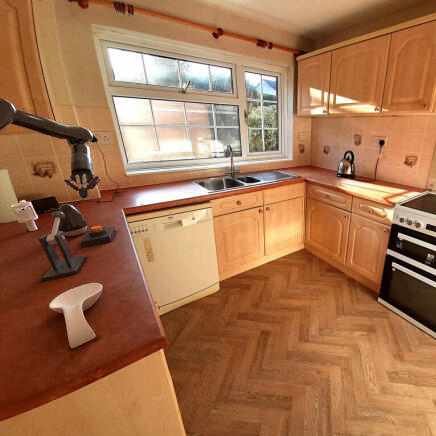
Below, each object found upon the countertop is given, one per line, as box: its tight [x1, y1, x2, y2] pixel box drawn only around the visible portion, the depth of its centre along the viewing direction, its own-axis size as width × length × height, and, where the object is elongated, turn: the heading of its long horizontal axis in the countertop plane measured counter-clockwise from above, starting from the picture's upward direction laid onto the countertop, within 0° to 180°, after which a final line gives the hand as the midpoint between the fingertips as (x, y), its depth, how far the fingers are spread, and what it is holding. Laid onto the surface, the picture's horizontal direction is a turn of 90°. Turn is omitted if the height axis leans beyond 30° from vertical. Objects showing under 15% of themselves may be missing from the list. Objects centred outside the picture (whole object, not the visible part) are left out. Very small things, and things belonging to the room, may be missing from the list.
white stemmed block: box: [10, 199, 39, 232], centre depth 121 cm, size 7×7×15 cm
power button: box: [90, 225, 102, 232], centre depth 109 cm, size 4×4×2 cm
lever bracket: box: [38, 230, 87, 282], centre depth 86 cm, size 12×9×14 cm
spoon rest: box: [48, 282, 103, 349], centre depth 65 cm, size 24×12×7 cm, turn 42°
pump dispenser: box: [49, 203, 88, 237], centre depth 114 cm, size 10×10×15 cm
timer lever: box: [46, 211, 64, 246], centre depth 88 cm, size 15×3×3 cm, turn 28°
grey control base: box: [80, 226, 116, 248], centre depth 110 cm, size 12×10×4 cm
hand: (84, 197), depth 106 cm, fingers closed
